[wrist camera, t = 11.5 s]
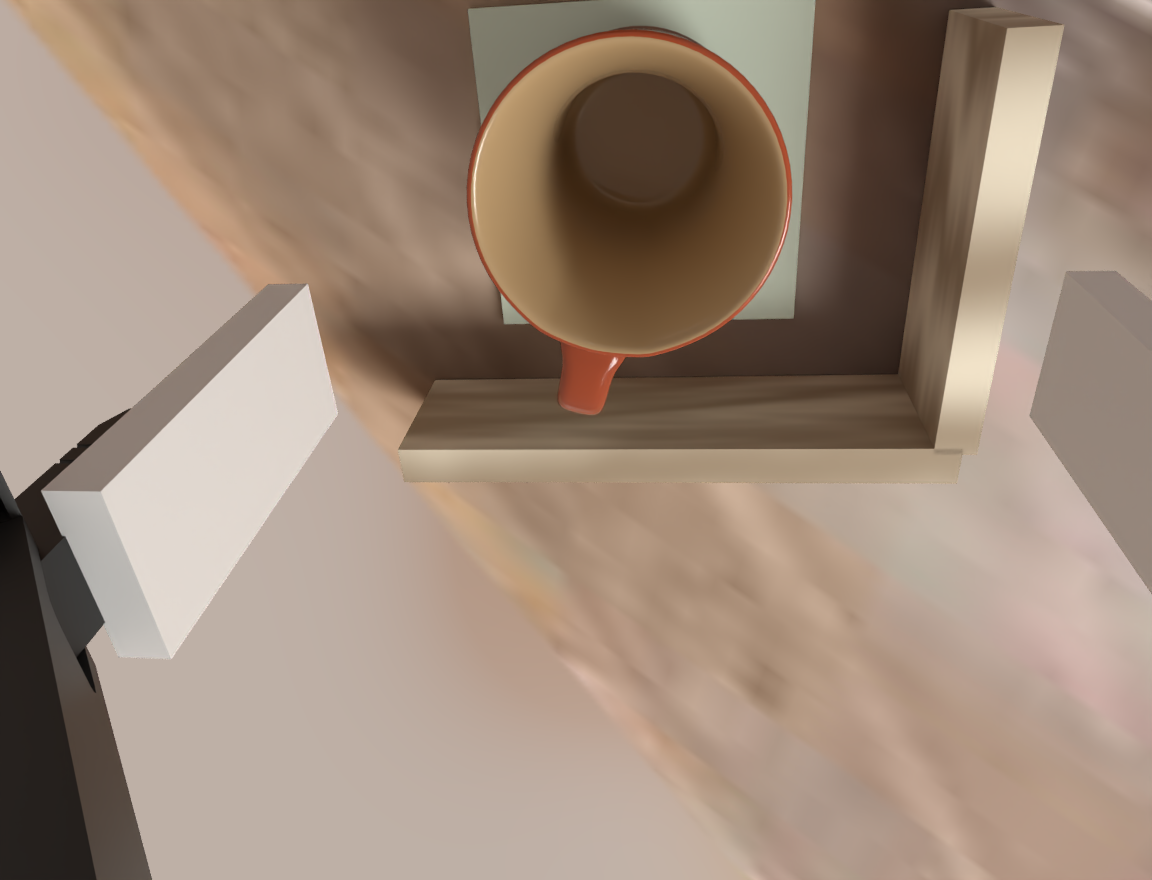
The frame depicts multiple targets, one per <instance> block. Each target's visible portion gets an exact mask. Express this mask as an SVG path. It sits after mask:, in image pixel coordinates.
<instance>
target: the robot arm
mask: <svg viewBox="0 0 1152 880" xmlns="http://www.w3.org/2000/svg"><path fill="white" fill-rule="evenodd" d="M337 415H338V411H337V407H336V403H335V398H334V394H333V390H332V386H331V381H330V377H329V373H328V368H327V364H326V360H325V355H324V351H323V347H322V343H321V338H320V334H319V330H318V325H317V321H316V317H315V312H314V308H313V304H312V300H311V295H310V291H309V287H308V284H268V285H267V286H266V287H265V288H264V289H263V290H261V291H260V292H259V293H258V294H257V295H256V296H255V297H254V298H253V299H252V300H250V301H249V302H248V303H247V304H246V305H245V306H244V307H243V308H242V309H241V310H239V312H237V313H236V314H235V315H234V316H233V317H232V318H231V319H230V320H228V321H227V322H226V323H225V324H224V325H223V326H222V327H221V328H220V329H218V330H217V331H216V332H215V333H214V334H213V335H212V336H211V337H210V338H209V339H208V340H206V341H205V342H204V343H203V344H202V345H201V346H200V347H199V348H198V349H196V350H195V351H194V352H193V353H192V354H191V355H190V356H189V357H188V358H187V359H185V360H184V361H183V362H182V363H181V364H180V365H179V366H178V367H177V368H176V369H175V370H173V371H172V372H171V373H170V374H169V375H168V376H167V377H166V378H165V379H164V380H162V381H161V382H160V383H159V384H158V385H157V386H156V387H155V388H154V389H153V390H151V391H150V392H149V393H148V394H147V395H146V396H145V397H144V398H143V399H141V400H140V401H139V402H138V403H137V404H136V405H135V406H134V407H133V408H132V409H128V410H126V411H124V412H122V413H120V414H118V415H117V416H115V417H113V418H111V419H109V420H107V421H105V422H103V423H102V424H100V425H98V426H97V427H96V428H95V429H94V430H92V431H91V432H90V433H89V434H88V435H87V436H86V437H85V438H83V439H82V440H81V441H80V442H79V443H78V444H77V448H72V449H71V450H70V451H69V452H68V453H67V454H65V455H64V456H63V457H62V458H61V459H60V463H59V464H58V463H57V464H56V463H55V464H54V465H53V466H52V467H51V468H50V469H49V470H47V471H46V472H45V473H44V474H43V475H42V476H41V477H39V478H38V479H37V480H36V481H35V482H34V483H33V484H31V485H30V486H29V487H28V488H27V489H26V490H25V491H24V492H22V493H21V494H20V495H19V496H18V497H17V498H16V499H14V498H13V496H12V494H11V492H10V490H9V488H8V486H7V483H6V482H5V479H4V477H3V475H2V473H1V471H0V880H152V878H151V874H150V870H149V866H148V862H147V859H146V855H145V851H144V847H143V843H142V840H141V836H140V832H139V828H138V825H137V821H136V817H135V813H134V810H133V806H132V802H131V798H130V794H129V791H128V787H127V783H126V779H125V775H124V772H123V768H122V764H121V760H120V756H119V753H118V749H117V745H116V741H115V738H114V734H113V730H112V726H111V722H110V719H109V715H108V711H107V707H106V704H105V700H104V696H103V692H102V689H101V685H100V681H99V677H98V673H97V670H96V666H95V663H94V661H93V659H92V657H91V655H90V653H89V651H88V649H87V647H86V645H87V644H88V643H89V642H90V640H91V639H92V638H93V637H94V635H95V634H96V633H97V632H98V630H99V629H100V628H101V627H102V626H103V625H104V627H105V629H106V631H107V634H108V636H109V638H110V640H111V642H112V644H113V646H114V649H115V651H116V653H117V655H118V657H127V658H153V659H172V657H173V656H174V654H175V653H176V652H177V650H178V649H179V647H180V646H181V644H182V643H183V641H184V640H185V638H186V637H187V635H188V634H189V632H190V631H191V629H192V628H193V627H194V625H195V624H196V622H197V620H198V619H199V618H200V616H201V615H202V613H203V612H204V610H205V609H206V607H207V606H208V604H209V603H210V602H211V600H212V598H213V597H214V595H215V594H216V593H217V591H218V590H219V588H220V586H221V585H222V584H223V582H224V581H225V579H226V578H227V577H228V575H229V574H230V572H231V571H232V569H233V568H234V566H235V565H236V563H237V562H238V560H239V559H240V557H241V556H242V555H243V553H244V551H245V550H246V549H247V547H248V546H249V544H250V543H251V541H252V540H253V538H254V537H255V535H256V534H257V532H258V531H259V529H260V528H261V527H262V525H263V523H264V522H265V521H266V519H267V518H268V516H269V515H270V513H271V512H272V510H273V509H274V507H275V506H276V505H277V503H278V502H279V500H280V499H281V497H282V496H283V494H284V492H285V491H286V490H287V488H288V487H289V485H290V484H291V482H292V481H293V479H294V478H295V477H296V475H297V474H298V472H299V471H300V469H301V468H302V466H303V465H304V463H305V462H306V460H307V459H308V457H309V456H310V454H311V453H312V452H313V450H314V449H315V447H316V445H317V444H318V443H319V441H320V440H321V438H322V437H323V435H324V434H325V432H326V431H327V429H328V428H329V427H330V425H331V423H332V422H333V421H334V419H335V418H336V416H337ZM1030 417H1031V419H1032V420H1033V422H1034V423H1035V425H1036V426H1037V427H1038V429H1039V430H1040V432H1041V433H1042V435H1043V436H1044V438H1045V439H1046V441H1047V442H1048V443H1049V445H1050V446H1051V448H1052V449H1053V451H1054V452H1055V454H1056V455H1057V457H1058V458H1059V460H1060V461H1061V462H1062V464H1063V465H1064V467H1065V468H1066V470H1067V471H1068V473H1069V474H1070V476H1071V477H1072V478H1073V480H1074V481H1075V483H1076V484H1077V486H1078V487H1079V489H1080V490H1081V492H1082V493H1083V495H1084V496H1085V497H1086V499H1087V500H1088V502H1089V503H1090V505H1091V506H1092V508H1093V509H1094V511H1095V512H1096V513H1097V515H1098V516H1099V518H1100V519H1101V521H1102V522H1103V524H1104V525H1105V527H1106V528H1107V530H1108V531H1109V532H1110V534H1111V535H1112V537H1113V538H1114V540H1115V541H1116V543H1117V544H1118V546H1119V547H1120V549H1121V550H1122V551H1123V553H1124V554H1125V556H1126V557H1127V559H1128V560H1129V562H1130V563H1131V565H1132V566H1133V567H1134V569H1135V570H1136V572H1137V573H1138V575H1139V576H1140V578H1141V579H1142V581H1143V582H1144V584H1145V585H1146V586H1147V588H1148V589H1149V591H1150V592H1151V594H1152V301H1151V300H1150V299H1149V298H1148V297H1146V296H1145V295H1144V294H1143V293H1142V292H1140V291H1139V290H1138V289H1137V288H1136V287H1134V286H1133V285H1132V284H1131V283H1130V282H1128V281H1127V280H1126V279H1125V278H1124V277H1122V276H1121V275H1120V274H1119V273H1118V272H1116V271H1066V274H1065V278H1064V282H1063V286H1062V290H1061V294H1060V298H1059V301H1058V305H1057V309H1056V313H1055V317H1054V321H1053V325H1052V329H1051V333H1050V337H1049V341H1048V345H1047V349H1046V353H1045V357H1044V361H1043V365H1042V369H1041V373H1040V377H1039V381H1038V385H1037V388H1036V392H1035V396H1034V400H1033V404H1032V408H1031V412H1030Z"/></svg>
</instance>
